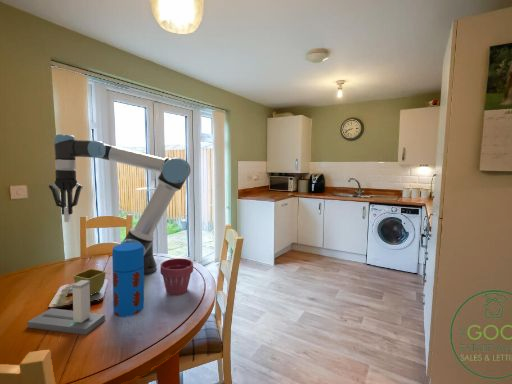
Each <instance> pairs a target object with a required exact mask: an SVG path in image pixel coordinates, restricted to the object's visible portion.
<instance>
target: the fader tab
mask: <svg viewBox="0 0 512 384" xmlns="http://www.w3.org/2000/svg"><path fill="white" fill-rule="evenodd" d="M71 288H72V309H73V310H72V311H73V317H74V322H80V323H82V322H83V321H85V320H86V319H87V318H89V317H90V313H91V296H90V281H88V280H81V281H79V282H77V283H75V282H74V283H73V284H71Z"/></svg>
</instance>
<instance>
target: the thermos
mask: <svg viewBox="0 0 512 384" xmlns="http://www.w3.org/2000/svg"><path fill="white" fill-rule="evenodd" d="M111 253H112V258H111V259H112V299H113V300H112V303H113V304H112V305H113V315H115V316H117V317H120V318H121V317H122V318H123V317H124V318H126V317H131V316H135V315H137V314H139V313H140V312H142V311H143V309H144V303H145V275H144V249H143V245H142V244H140V243H125V244H120V243H119V244H117V245H115V246H113V247H112V252H111Z"/></svg>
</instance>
